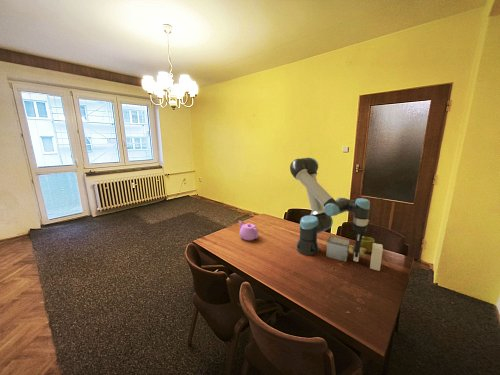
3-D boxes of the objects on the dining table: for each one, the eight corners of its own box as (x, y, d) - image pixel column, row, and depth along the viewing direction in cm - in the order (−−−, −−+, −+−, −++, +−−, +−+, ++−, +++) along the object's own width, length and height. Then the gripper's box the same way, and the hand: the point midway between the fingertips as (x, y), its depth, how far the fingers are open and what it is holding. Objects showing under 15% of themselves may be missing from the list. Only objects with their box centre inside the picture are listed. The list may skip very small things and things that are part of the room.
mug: (379, 252, 137) (375, 237, 137) (362, 255, 139) (358, 240, 140) (373, 246, 149) (369, 233, 149) (358, 249, 151) (354, 236, 152)
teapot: (263, 238, 162) (263, 224, 160) (251, 244, 153) (251, 229, 150) (244, 231, 175) (244, 217, 173) (233, 236, 166) (232, 222, 163)
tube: (334, 251, 134) (335, 243, 133) (336, 247, 139) (336, 240, 137) (364, 258, 125) (365, 250, 124) (365, 254, 130) (366, 246, 129)
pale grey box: (326, 256, 136) (327, 240, 134) (328, 250, 143) (330, 235, 141) (346, 261, 130) (347, 245, 127) (347, 255, 137) (349, 239, 135)
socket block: (369, 268, 123) (372, 249, 120) (370, 260, 131) (372, 242, 128) (379, 271, 121) (382, 251, 118) (379, 263, 128) (382, 244, 125)
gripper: (366, 231, 116) (361, 268, 121) (368, 220, 131) (364, 253, 136) (351, 228, 120) (347, 264, 125) (355, 218, 135) (351, 250, 140)
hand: (356, 258), depth 130 cm, fingers closed on tube, 5 cm apart
